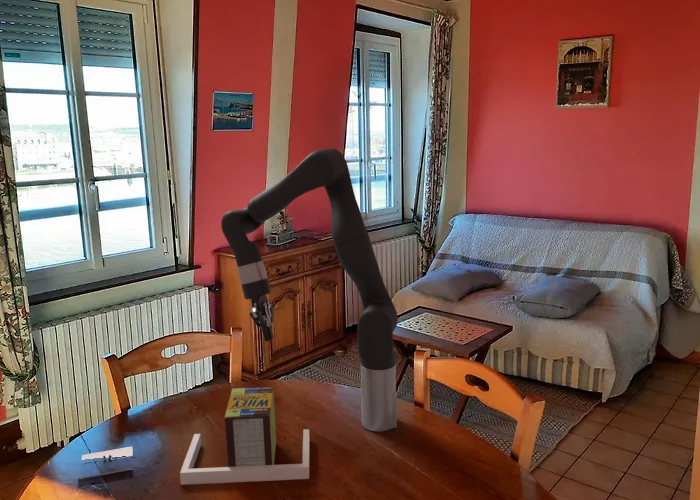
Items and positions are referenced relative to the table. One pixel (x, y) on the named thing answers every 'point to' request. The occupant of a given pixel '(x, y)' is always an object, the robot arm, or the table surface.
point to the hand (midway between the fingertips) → (269, 340)
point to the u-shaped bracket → (242, 468)
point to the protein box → (250, 427)
